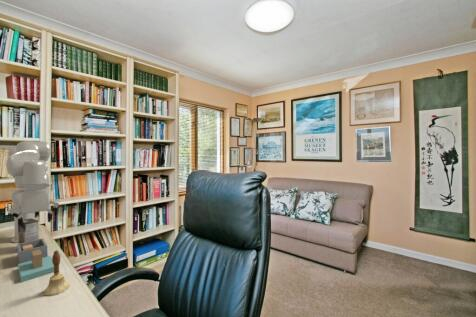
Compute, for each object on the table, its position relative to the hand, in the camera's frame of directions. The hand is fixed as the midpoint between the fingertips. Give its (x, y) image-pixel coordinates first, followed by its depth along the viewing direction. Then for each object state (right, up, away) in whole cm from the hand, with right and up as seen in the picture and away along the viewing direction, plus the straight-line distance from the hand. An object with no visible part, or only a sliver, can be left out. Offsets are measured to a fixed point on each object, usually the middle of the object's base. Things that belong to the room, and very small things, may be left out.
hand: (35, 224), depth 105 cm
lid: (0, -22, +1) cm, 22 cm away
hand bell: (+21, -23, -14) cm, 34 cm away
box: (-13, -22, +13) cm, 28 cm away
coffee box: (-26, -21, +24) cm, 41 cm away
